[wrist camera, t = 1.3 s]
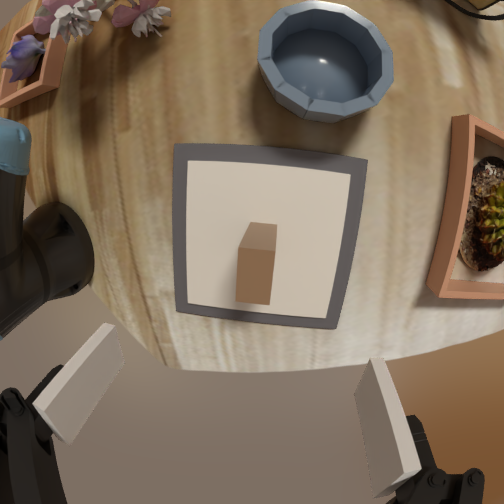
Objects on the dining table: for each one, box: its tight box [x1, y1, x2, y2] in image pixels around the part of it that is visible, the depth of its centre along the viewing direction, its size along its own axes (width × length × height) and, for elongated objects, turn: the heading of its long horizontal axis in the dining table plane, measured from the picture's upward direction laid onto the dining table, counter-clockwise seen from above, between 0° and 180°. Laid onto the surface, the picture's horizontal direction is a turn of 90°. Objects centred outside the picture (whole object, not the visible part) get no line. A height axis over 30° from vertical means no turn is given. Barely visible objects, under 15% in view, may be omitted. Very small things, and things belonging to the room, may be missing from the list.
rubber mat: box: [172, 143, 368, 329], centre depth 32 cm, size 22×22×1 cm
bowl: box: [257, 0, 394, 123], centre depth 22 cm, size 13×13×6 cm
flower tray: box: [0, 20, 71, 108], centre depth 23 cm, size 15×16×4 cm
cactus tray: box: [426, 114, 504, 299], centre depth 25 cm, size 22×23×4 cm
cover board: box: [186, 161, 351, 318], centre depth 27 cm, size 18×18×10 cm
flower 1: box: [1, 35, 46, 83], centre depth 22 cm, size 9×9×10 cm
